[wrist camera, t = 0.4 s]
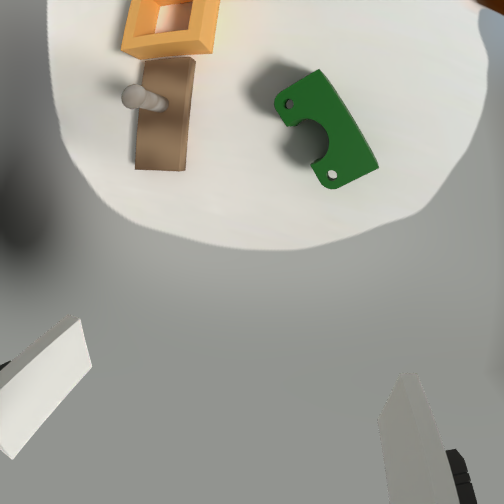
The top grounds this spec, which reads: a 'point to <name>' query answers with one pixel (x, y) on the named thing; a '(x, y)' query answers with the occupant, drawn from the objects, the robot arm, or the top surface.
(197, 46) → the orange hollow square frame
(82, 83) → the top surface
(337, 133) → the clamp
